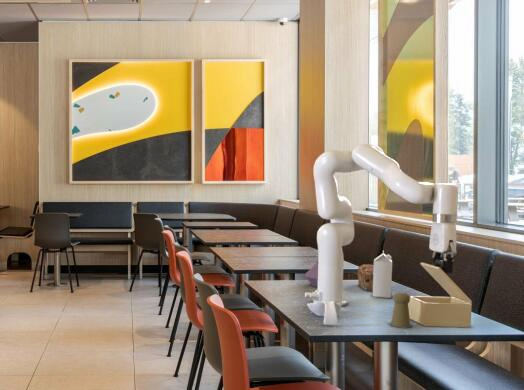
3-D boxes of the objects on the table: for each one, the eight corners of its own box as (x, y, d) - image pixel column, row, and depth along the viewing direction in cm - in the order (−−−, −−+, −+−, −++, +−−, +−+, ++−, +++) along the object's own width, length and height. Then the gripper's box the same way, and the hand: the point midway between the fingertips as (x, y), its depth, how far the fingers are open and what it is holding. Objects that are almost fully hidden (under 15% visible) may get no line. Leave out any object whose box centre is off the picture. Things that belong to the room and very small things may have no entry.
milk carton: (372, 296, 262) (374, 251, 262) (372, 294, 269) (374, 250, 268) (390, 298, 260) (392, 252, 259) (390, 295, 266) (392, 251, 266)
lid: (437, 269, 210) (448, 259, 210) (419, 263, 223) (429, 254, 223) (470, 303, 211) (481, 293, 211) (451, 296, 223) (460, 287, 223)
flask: (308, 281, 298) (310, 239, 297) (344, 285, 290) (345, 242, 289) (298, 286, 284) (300, 242, 283) (336, 290, 275) (337, 245, 275)
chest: (425, 326, 211) (425, 303, 210) (407, 317, 223) (408, 296, 223) (470, 327, 211) (471, 304, 211) (451, 318, 224) (451, 296, 223)
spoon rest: (304, 310, 231) (305, 291, 231) (337, 312, 230) (338, 292, 229) (313, 325, 208) (314, 303, 208) (350, 327, 206) (351, 305, 206)
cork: (412, 328, 207) (413, 295, 207) (392, 326, 208) (394, 294, 208) (408, 324, 213) (409, 292, 213) (389, 322, 214) (390, 291, 214)
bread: (357, 284, 293) (357, 263, 293) (380, 285, 291) (381, 264, 291) (364, 291, 275) (365, 268, 275) (389, 292, 273) (390, 269, 273)
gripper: (422, 217, 225) (419, 267, 225) (446, 221, 207) (444, 275, 208) (442, 217, 225) (440, 267, 225) (469, 221, 207) (466, 275, 208)
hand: (442, 270), depth 217 cm, fingers closed on lid, 6 cm apart
